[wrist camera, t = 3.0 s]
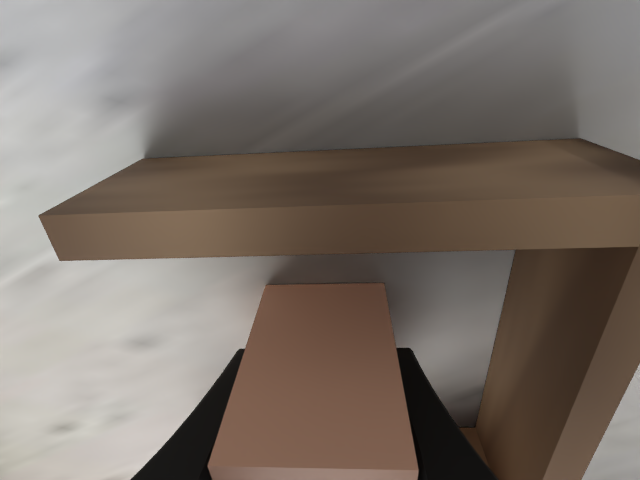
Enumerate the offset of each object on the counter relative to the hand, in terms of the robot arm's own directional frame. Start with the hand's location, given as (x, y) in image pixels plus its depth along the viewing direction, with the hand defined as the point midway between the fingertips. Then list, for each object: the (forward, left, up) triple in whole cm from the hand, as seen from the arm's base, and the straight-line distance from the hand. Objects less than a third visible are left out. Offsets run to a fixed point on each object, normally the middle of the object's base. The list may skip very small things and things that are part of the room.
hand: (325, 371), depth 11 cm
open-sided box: (0, 0, -2) cm, 2 cm away
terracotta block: (0, 0, -2) cm, 2 cm away
